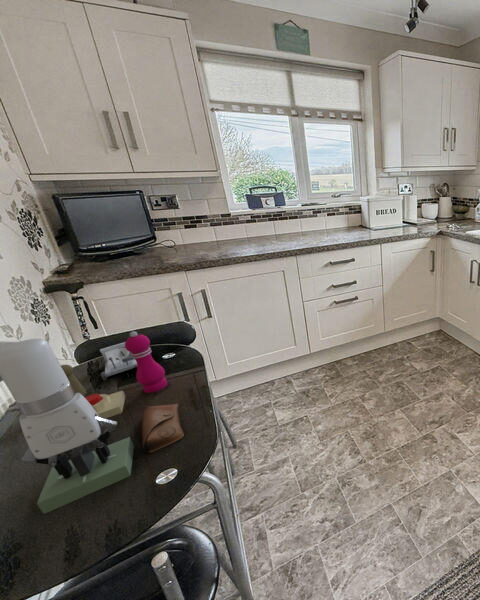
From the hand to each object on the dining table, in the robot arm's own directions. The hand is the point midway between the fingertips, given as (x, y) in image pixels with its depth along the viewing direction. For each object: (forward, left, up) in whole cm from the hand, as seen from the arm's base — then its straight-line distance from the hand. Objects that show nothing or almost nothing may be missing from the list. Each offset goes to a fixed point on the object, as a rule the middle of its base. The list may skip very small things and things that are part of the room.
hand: (87, 466), depth 72 cm
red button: (-3, +30, 0) cm, 30 cm away
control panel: (0, 0, -3) cm, 3 cm away
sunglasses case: (+13, +9, -3) cm, 16 cm away
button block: (-3, +30, -3) cm, 30 cm away
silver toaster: (+1, +58, -3) cm, 58 cm away
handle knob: (0, 0, 0) cm, 0 cm away
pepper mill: (+11, +34, -3) cm, 36 cm away
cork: (-11, +47, -3) cm, 49 cm away
